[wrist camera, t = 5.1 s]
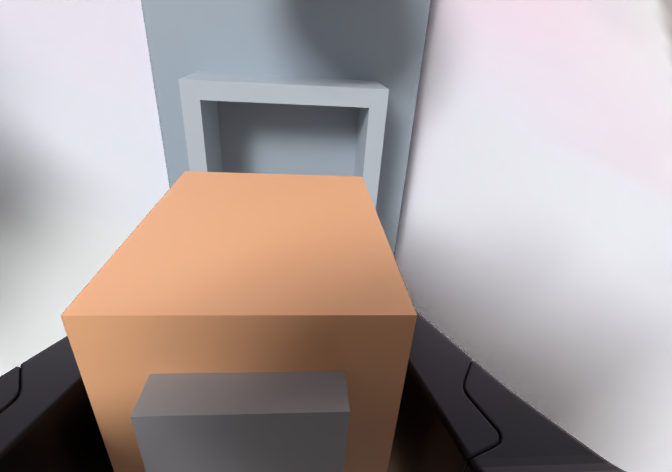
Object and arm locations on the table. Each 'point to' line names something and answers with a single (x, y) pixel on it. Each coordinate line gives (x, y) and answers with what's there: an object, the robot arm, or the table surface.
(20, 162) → the table surface
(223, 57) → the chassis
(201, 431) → the orange box grey panel
